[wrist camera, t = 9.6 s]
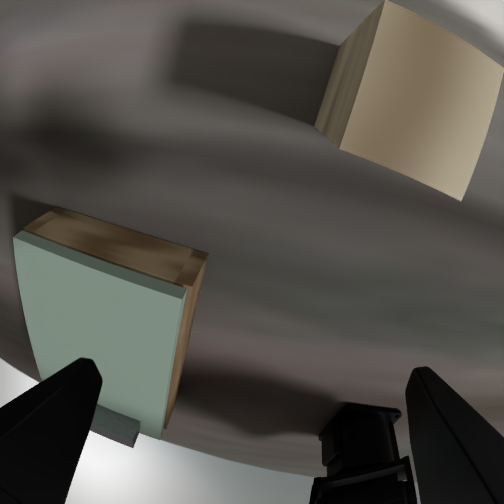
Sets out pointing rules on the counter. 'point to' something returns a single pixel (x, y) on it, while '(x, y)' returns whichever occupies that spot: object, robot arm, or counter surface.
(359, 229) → the counter surface
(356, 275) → the counter surface
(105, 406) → the lid
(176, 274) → the open wooden tray
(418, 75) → the brown wooden block
